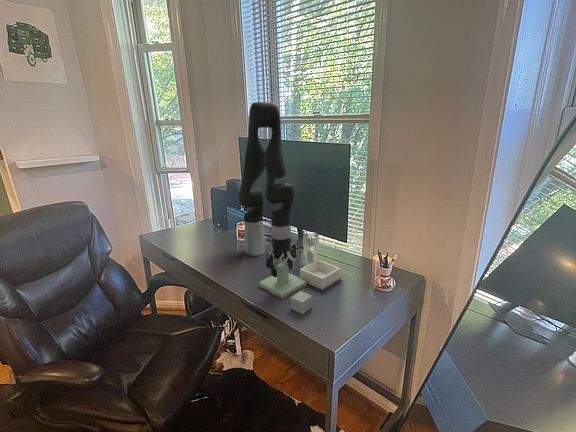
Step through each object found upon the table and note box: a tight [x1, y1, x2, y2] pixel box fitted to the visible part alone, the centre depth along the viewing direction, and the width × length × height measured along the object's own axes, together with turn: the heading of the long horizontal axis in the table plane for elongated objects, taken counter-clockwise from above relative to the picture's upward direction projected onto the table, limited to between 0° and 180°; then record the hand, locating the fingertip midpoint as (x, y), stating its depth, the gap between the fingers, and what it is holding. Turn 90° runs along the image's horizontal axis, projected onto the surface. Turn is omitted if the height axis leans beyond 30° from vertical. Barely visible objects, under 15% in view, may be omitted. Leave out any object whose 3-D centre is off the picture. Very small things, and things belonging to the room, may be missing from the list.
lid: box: [258, 262, 308, 297], centre depth 127 cm, size 14×14×8 cm
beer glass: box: [302, 231, 320, 267], centre depth 142 cm, size 7×7×15 cm
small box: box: [290, 290, 313, 315], centre depth 113 cm, size 6×6×5 cm
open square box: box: [299, 259, 342, 291], centre depth 131 cm, size 12×12×5 cm
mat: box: [257, 283, 308, 300], centre depth 128 cm, size 14×14×1 cm
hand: (282, 272), depth 126 cm, fingers open, 8 cm apart
